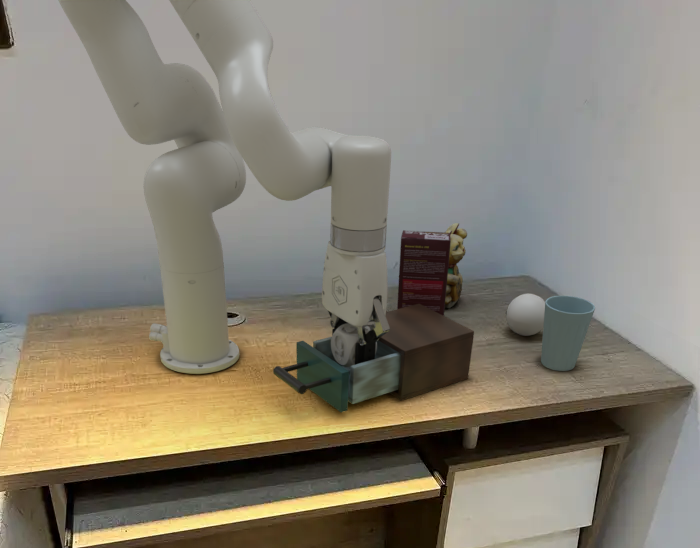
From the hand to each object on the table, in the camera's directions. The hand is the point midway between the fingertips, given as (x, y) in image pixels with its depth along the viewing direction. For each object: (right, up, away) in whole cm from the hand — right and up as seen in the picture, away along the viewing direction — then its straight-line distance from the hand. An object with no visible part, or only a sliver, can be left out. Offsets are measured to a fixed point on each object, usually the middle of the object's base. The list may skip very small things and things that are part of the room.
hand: (352, 358), depth 109 cm
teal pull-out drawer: (-2, -5, +1) cm, 5 cm away
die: (0, 0, 0) cm, 1 cm away
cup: (+34, +1, +13) cm, 36 cm away
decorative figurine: (+17, +16, +34) cm, 41 cm away
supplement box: (+12, +10, +26) cm, 31 cm away
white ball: (+30, +8, +24) cm, 39 cm away
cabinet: (+9, -1, +8) cm, 12 cm away
